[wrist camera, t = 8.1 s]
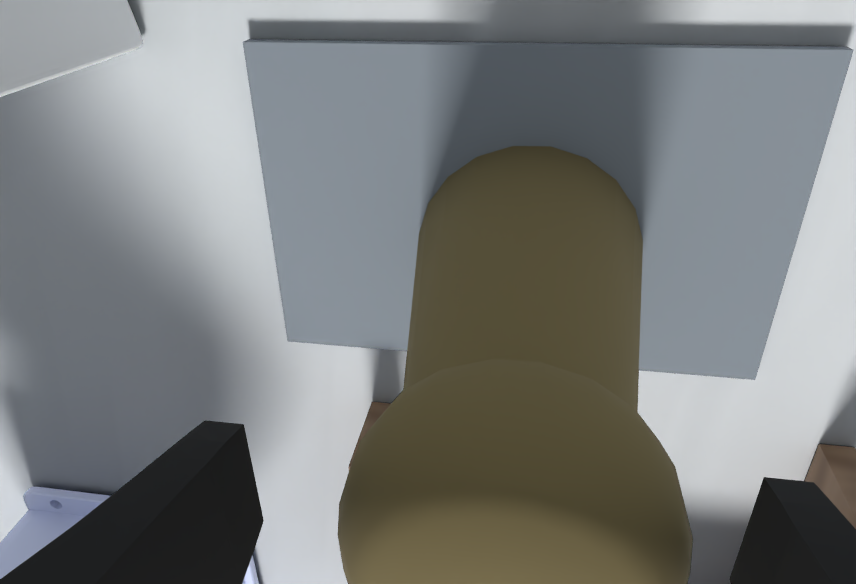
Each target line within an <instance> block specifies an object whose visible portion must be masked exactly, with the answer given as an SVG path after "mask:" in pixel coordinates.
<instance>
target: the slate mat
mask: <svg viewBox="0 0 856 584" xmlns="http://www.w3.org/2000/svg"><path fill="white" fill-rule="evenodd" d="M243 47H244V53H245V60H246V67H247V73H248V80H249V87H250V93H251V100H252V107H253V113H254V120H255V127H256V133H257V140H258V147H259V153H260V160H261V167H262V173H263V180H264V187H265V193H266V200H267V207H268V213H269V220H270V227H271V233H272V240H273V247H274V253H275V260H276V267H277V273H278V280H279V287H280V293H281V300H282V307H283V313H284V320H285V327H286V333H287V340H288V341H289V342H301V343H313V344H326V345H338V346H350V347H362V348H374V349H386V350H399V351H407V348H408V338H409V328H410V318H411V308H412V298H413V288H414V278H415V268H416V258H417V248H418V238H419V232H420V228H421V225H422V222H423V219H424V215H425V212H426V209H427V205H428V203H429V202H430V200H431V199H432V198H433V196H434V195H435V194H436V192H437V191H438V189H439V188H440V187H441V185H442V184H443V183H444V181H445V180H446V179H447V177H448V176H450V175H451V174H453V173H454V172H456V171H457V170H458V169H460V168H461V167H463V166H464V165H466V164H467V163H469V162H470V161H471V160H473V159H474V158H476V157H478V156H481V155H484V154H488V153H491V152H494V151H498V150H501V149H504V148H508V147H511V146H551V147H554V148H557V149H560V150H563V151H566V152H570V153H573V154H576V155H579V156H582V157H585V158H587V159H589V160H590V161H591V162H593V163H594V164H595V165H597V166H598V167H599V168H601V169H602V170H603V171H605V172H606V173H608V174H609V175H610V176H612V177H613V178H614V179H616V180H617V182H618V183H619V185H620V186H621V188H622V189H623V191H624V192H625V194H626V195H627V197H628V198H629V200H630V201H631V203H632V204H633V206H634V207H635V209H636V213H637V217H638V222H639V226H640V230H641V234H642V239H643V255H642V285H641V316H640V346H639V370H642V371H654V372H666V373H678V374H690V375H703V376H715V377H727V378H739V379H751V380H755V378H756V375H757V372H758V368H759V365H760V362H761V358H762V355H763V352H764V348H765V345H766V341H767V338H768V335H769V331H770V328H771V325H772V321H773V318H774V315H775V311H776V308H777V305H778V301H779V298H780V295H781V291H782V288H783V285H784V281H785V278H786V274H787V271H788V268H789V264H790V261H791V258H792V254H793V251H794V248H795V244H796V241H797V238H798V234H799V231H800V228H801V224H802V221H803V217H804V214H805V211H806V207H807V204H808V201H809V197H810V194H811V191H812V187H813V184H814V181H815V177H816V174H817V171H818V167H819V164H820V161H821V157H822V154H823V150H824V147H825V144H826V140H827V137H828V134H829V130H830V127H831V124H832V120H833V117H834V114H835V110H836V107H837V104H838V100H839V97H840V93H841V90H842V87H843V83H844V80H845V77H846V73H847V70H848V67H849V63H850V60H851V57H852V53H853V50H852V49H850V48H848V47H834V46H753V45H671V44H589V43H508V42H426V41H344V40H263V39H249V40H247V41H244V42H243Z"/></svg>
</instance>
